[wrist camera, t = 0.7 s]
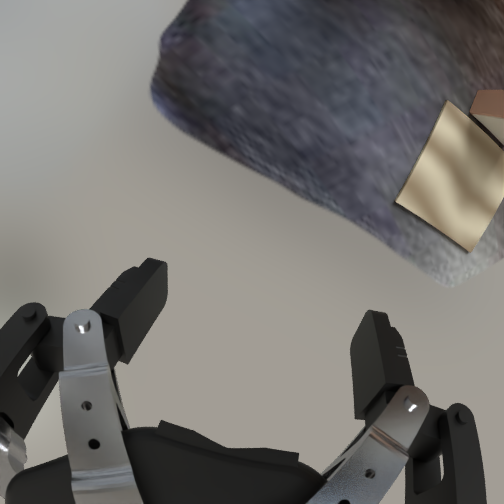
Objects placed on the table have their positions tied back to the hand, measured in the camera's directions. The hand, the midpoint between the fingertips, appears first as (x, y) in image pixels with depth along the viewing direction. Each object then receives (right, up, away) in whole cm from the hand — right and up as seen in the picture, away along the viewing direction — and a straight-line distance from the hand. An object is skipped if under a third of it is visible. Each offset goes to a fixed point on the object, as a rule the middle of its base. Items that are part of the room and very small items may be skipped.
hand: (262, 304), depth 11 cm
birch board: (+29, +12, +20) cm, 37 cm away
